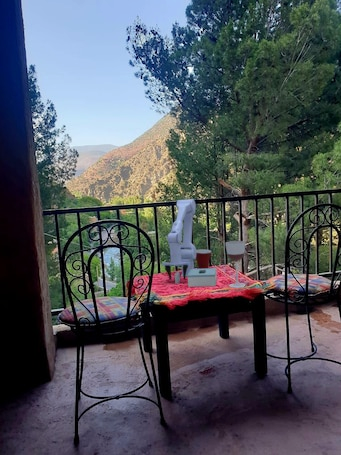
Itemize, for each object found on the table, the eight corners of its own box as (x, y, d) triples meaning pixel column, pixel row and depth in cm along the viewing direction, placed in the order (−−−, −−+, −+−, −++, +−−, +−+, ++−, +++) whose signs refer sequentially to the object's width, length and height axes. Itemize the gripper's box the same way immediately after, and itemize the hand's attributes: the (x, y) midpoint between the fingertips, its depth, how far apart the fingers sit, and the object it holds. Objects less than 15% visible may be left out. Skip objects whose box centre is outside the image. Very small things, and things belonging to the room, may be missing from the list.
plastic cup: (211, 271, 214) (210, 251, 213) (193, 272, 216) (192, 252, 215) (213, 267, 225) (212, 248, 223) (196, 267, 227) (194, 249, 225)
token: (176, 281, 199) (176, 272, 198) (180, 281, 199) (179, 272, 198) (175, 283, 194) (174, 274, 193) (178, 283, 194) (178, 274, 193)
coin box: (191, 279, 199) (190, 269, 199) (216, 278, 197) (216, 268, 196) (188, 286, 186) (187, 275, 185) (215, 286, 183) (214, 274, 182)
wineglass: (230, 282, 188) (228, 240, 185) (249, 283, 183) (246, 240, 181) (225, 287, 180) (223, 243, 177) (244, 288, 176) (242, 243, 173)
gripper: (161, 256, 192) (163, 281, 193) (188, 255, 189) (189, 280, 191) (163, 253, 199) (165, 277, 200) (189, 252, 196) (191, 277, 198)
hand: (177, 279), depth 196 cm, fingers open, 7 cm apart
